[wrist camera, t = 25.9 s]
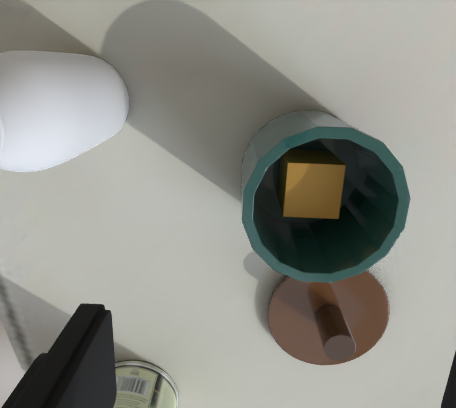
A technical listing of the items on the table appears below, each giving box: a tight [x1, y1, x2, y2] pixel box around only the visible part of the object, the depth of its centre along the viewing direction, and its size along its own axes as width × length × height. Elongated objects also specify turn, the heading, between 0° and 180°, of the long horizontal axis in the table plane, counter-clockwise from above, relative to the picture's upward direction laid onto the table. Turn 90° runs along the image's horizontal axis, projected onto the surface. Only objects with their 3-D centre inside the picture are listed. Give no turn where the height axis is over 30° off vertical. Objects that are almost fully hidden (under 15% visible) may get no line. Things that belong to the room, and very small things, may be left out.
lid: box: [268, 270, 390, 365], centre depth 40 cm, size 13×13×6 cm
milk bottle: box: [0, 50, 129, 172], centre depth 27 cm, size 8×8×20 cm
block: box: [277, 149, 346, 219], centre depth 35 cm, size 5×5×6 cm
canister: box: [241, 111, 410, 283], centre depth 33 cm, size 12×12×10 cm
